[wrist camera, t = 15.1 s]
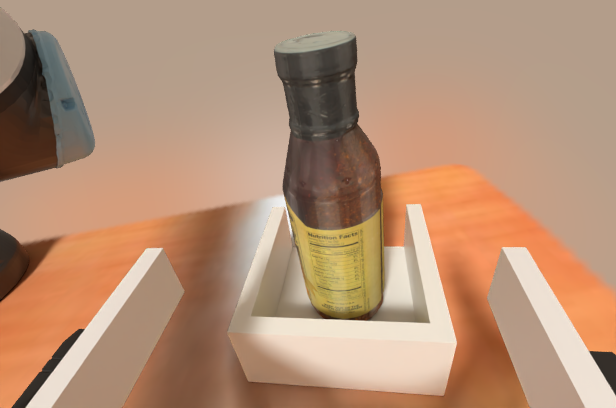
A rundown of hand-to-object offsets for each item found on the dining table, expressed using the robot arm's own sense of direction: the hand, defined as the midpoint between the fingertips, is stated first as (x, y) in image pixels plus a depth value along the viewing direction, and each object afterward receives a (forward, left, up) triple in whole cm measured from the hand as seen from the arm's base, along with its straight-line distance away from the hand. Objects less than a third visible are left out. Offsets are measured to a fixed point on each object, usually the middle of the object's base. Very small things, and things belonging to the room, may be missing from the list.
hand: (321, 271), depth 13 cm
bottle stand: (-6, +6, -14) cm, 16 cm away
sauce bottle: (-6, +6, -13) cm, 15 cm away
